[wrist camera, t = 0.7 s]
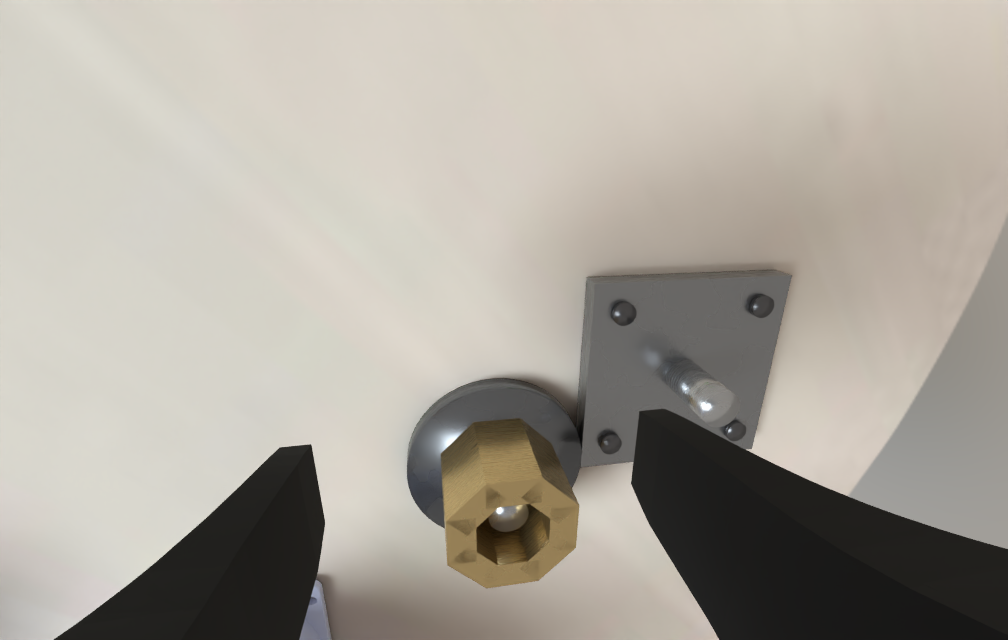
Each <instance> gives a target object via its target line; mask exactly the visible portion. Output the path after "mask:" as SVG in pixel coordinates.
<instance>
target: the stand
mask: <svg viewBox="0 0 1008 640" xmlns="http://www.w3.org/2000/svg"><path fill="white" fill-rule="evenodd" d="M515 418H521V419H522V420H523V421H525V422H526V423H527V424H528V425H530V426H531V427H532V428H533V429H534V430H536V431H537V432H538V433H539V434H541V435H542V436H543V437H544V438H546V439H547V440H548V441H549V442H551V444H552V446H553V448H554V450H555V453H556V455H557V457H558V459H559V462H560V464H561V466H562V468H563V470H564V473H565V475H566V477H567V479H568V482H569V484H570V486H571V488H572V487H573V485H574V483H575V480H576V478H577V475H578V472H579V469H580V463H581V444H580V439H579V436H578V433H577V430H576V428H575V426H574V424H573V422H572V421H571V419H570V417H569V415H568V414H567V412H566V410H565V409H564V407H563V406H562V405H561V403H560V402H559V401H558V400H557V399H556V398H555V397H553V396H552V395H551V394H549V393H548V392H547V391H545V390H543V389H542V388H540V387H538V386H536V385H533V384H530V383H528V382H524V381H519V380H514V379H488V380H481V381H477V382H473V383H470V384H467V385H464V386H462V387H459V388H457V389H455V390H453V391H451V392H450V393H448V394H446V395H445V396H443V397H442V398H441V399H439V400H438V401H437V402H436V403H434V404H433V405H432V406H431V407H430V408H429V409H428V410H427V411H426V413H425V414H424V415H423V416H422V418H421V419H420V421H419V422H418V423H417V425H416V427H415V429H414V431H413V433H412V436H411V439H410V442H409V448H408V457H407V479H408V485H409V489H410V492H411V495H412V497H413V499H414V501H415V503H416V504H417V506H418V507H419V508H420V510H421V511H422V512H423V513H424V514H425V515H426V516H427V517H428V518H429V519H431V520H432V521H433V522H435V523H436V524H438V525H440V526H441V527H443V528H445V523H444V509H443V495H442V474H441V453H442V452H443V451H444V450H445V449H446V448H447V447H448V446H449V445H450V444H451V443H452V442H453V441H454V440H455V439H456V438H457V437H459V436H460V435H461V434H462V433H463V432H464V431H465V430H466V429H467V428H468V427H469V426H470V425H471V424H472V423H473V422H481V421H492V420H504V419H515ZM528 514H529V513H528V508H527V504H524V505H516V506H507V507H499V508H497V509H496V510H495V511H494V512H493V513H492V514H491V515H490V516H489V517H488V518H489V523H490V525H491V526H492V527H493V528H494V529H496V530H498V531H502V532H509V531H513V530H516V529H518V528H520V527H521V526H522V525H523V524H524V523H525V522H526V520H527V518H528Z"/></svg>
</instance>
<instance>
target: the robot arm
mask: <svg viewBox="0 0 1008 640" xmlns="http://www.w3.org/2000/svg"><path fill="white" fill-rule="evenodd" d="M631 484H632V487H633V489H634V491H635V494H636V496H637V498H638V501H639V503H640V505H641V507H642V509H643V512H644V514H645V516H646V518H647V520H648V522H649V524H650V526H651V528H652V529H653V531H654V533H655V534H656V536H657V538H658V539H659V541H660V543H661V544H662V546H663V548H664V549H665V551H666V552H667V554H668V556H669V557H670V559H671V561H672V562H673V564H674V565H675V567H676V569H677V570H678V572H679V574H680V575H681V577H682V578H683V580H684V582H685V583H686V585H687V586H688V588H689V590H690V591H691V593H692V594H693V596H694V598H695V599H696V601H697V603H698V604H699V606H700V607H701V609H702V611H703V612H704V614H705V615H706V617H707V619H708V620H709V622H710V624H711V626H712V627H713V629H714V631H715V633H716V634H717V636H718V638H719V640H1008V549H1005V548H1001V547H998V546H994V545H990V544H987V543H983V542H980V541H976V540H973V539H969V538H966V537H963V536H960V535H956V534H953V533H950V532H947V531H943V530H940V529H937V528H934V527H931V526H928V525H925V524H922V523H919V522H916V521H913V520H910V519H907V518H904V517H901V516H898V515H895V514H892V513H890V512H887V511H884V510H881V509H879V508H876V507H873V506H871V505H868V504H865V503H863V502H860V501H858V500H855V499H853V498H850V497H848V496H845V495H843V494H840V493H838V492H835V491H833V490H830V489H828V488H826V487H823V486H821V485H819V484H816V483H814V482H812V481H809V480H807V479H805V478H803V477H801V476H799V475H796V474H794V473H792V472H790V471H788V470H786V469H784V468H781V467H779V466H777V465H775V464H773V463H771V462H769V461H767V460H765V459H763V458H761V457H759V456H757V455H755V454H753V453H751V452H749V451H747V450H745V449H743V448H741V447H739V446H737V445H735V444H734V443H732V442H730V441H728V440H726V439H724V438H722V437H720V436H718V435H716V434H715V433H713V432H711V431H709V430H707V429H705V428H703V427H701V426H699V425H697V424H696V423H694V422H692V421H690V420H688V419H686V418H684V417H682V416H680V415H678V414H676V413H673V412H671V411H669V410H666V409H654V410H645V411H639V419H638V428H637V437H636V445H635V454H634V463H633V472H632V481H631ZM324 527H325V519H324V514H323V508H322V503H321V497H320V491H319V486H318V480H317V474H316V469H315V463H314V457H313V452H312V446H311V444H310V445H301V446H291V447H281V448H279V449H278V450H277V451H276V452H275V453H274V454H272V455H271V456H270V457H269V458H268V459H267V460H266V461H265V462H264V463H263V464H262V465H261V466H260V467H259V468H258V469H257V470H256V471H255V472H254V473H253V474H252V475H251V476H250V477H249V478H248V479H247V480H246V481H245V482H244V483H243V484H242V485H241V486H240V487H239V488H238V489H237V490H236V491H234V492H233V493H232V494H231V495H230V496H229V497H228V498H227V499H226V500H225V501H224V502H223V503H222V504H221V505H220V506H219V507H218V508H217V509H216V510H215V511H213V512H212V513H211V514H210V515H209V516H208V517H207V518H206V519H205V520H204V521H203V522H201V523H200V524H199V525H198V526H197V527H196V528H195V529H193V530H192V531H191V532H190V533H189V534H188V535H187V536H185V537H184V538H183V539H182V540H181V541H180V542H179V543H177V544H176V545H175V546H174V547H173V548H172V549H171V550H170V551H168V552H167V553H166V554H165V555H164V556H163V557H162V558H160V559H159V560H158V561H157V562H156V563H155V564H153V565H152V566H151V567H150V568H148V569H147V570H146V571H145V572H144V573H142V574H141V575H140V576H139V577H137V578H136V579H135V580H134V581H132V582H131V583H130V584H129V585H127V586H126V587H125V588H123V589H122V590H121V591H120V592H118V593H117V594H116V595H114V596H113V597H112V598H110V599H109V600H108V601H106V602H105V603H104V604H102V605H101V606H100V607H98V608H97V609H96V610H95V611H93V612H92V613H91V614H89V615H88V616H87V617H85V618H84V619H82V620H81V621H80V622H78V623H77V624H76V625H74V626H73V627H71V628H70V629H68V630H67V631H66V632H64V633H63V634H61V635H60V636H58V637H57V638H55V639H54V640H332V639H331V634H330V628H329V622H328V616H327V611H326V605H325V599H324V593H323V588H322V584H321V583H320V582H319V581H318V580H316V576H317V572H318V567H319V561H320V555H321V548H322V541H323V534H324ZM311 597H314V598H311Z"/></svg>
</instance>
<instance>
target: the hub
mask: <svg viewBox="0 0 1008 640" xmlns="http://www.w3.org/2000/svg"><path fill="white" fill-rule="evenodd" d="M791 277H792V275H789V274H786V273H783V272H781V271H778V270H758V271H732V272H707V273H682V274H656V275H631V276H606V277H587V281H586V295H585V309H584V323H583V337H582V350H581V364H580V378H579V392H578V406H577V419H576V430H577V433H578V436H579V439H580V444H581V463H580V467H589V466H598V465H607V464H617V463H626V462H634V454H635V445H636V437H637V428H638V419H639V411H645V410H654V409H666V410H669V411H671V412H673V413H676V414H678V415H680V416H682V417H684V418H686V419H688V420H690V421H692V422H694V423H696V424H697V425H699V426H701V427H703V428H705V429H707V430H709V431H711V432H713V433H715V434H716V435H718V436H720V437H722V438H724V439H726V440H728V441H730V442H732V443H734V444H735V445H737V446H739V447H741V448H743V449H745V450H746V449H752V446H753V442H754V437H755V433H756V429H757V424H758V420H759V416H760V411H761V407H762V403H763V398H764V394H765V390H766V385H767V381H768V377H769V372H770V368H771V364H772V359H773V355H774V351H775V346H776V342H777V338H778V333H779V329H780V325H781V320H782V316H783V312H784V307H785V303H786V299H787V294H788V290H789V286H790V281H791Z"/></svg>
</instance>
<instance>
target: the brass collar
mask: <svg viewBox="0 0 1008 640" xmlns="http://www.w3.org/2000/svg"><path fill="white" fill-rule="evenodd" d="M441 474H442V495H443V509H444V523H445V537H446V551H447V565H448V566H450V567H451V568H453V569H455V570H456V571H458V572H460V573H461V574H463V575H465V576H467V577H468V578H470V579H472V580H473V581H475V582H477V583H478V584H480V585H482V586H483V587H485V588H492V587H499V586H506V585H513V584H519V583H526V582H533V581H538V580H540V579H541V578H542V577H543V576H544V575H545V574H546V573H548V572H549V571H550V570H551V569H552V568H553V567H554V566H556V565H557V564H558V563H559V562H560V561H561V560H562V559H563V558H565V557H566V556H567V555H568V554H569V553H570V552H571V551H573V550H574V549H575V548H576V539H577V526H578V514H579V504H578V502H577V499H576V497H575V495H574V493H573V491H572V488H571V486H570V484H569V482H568V479H567V477H566V475H565V473H564V470H563V468H562V466H561V464H560V462H559V459H558V457H557V455H556V453H555V450H554V448H553V446H552V444H551V442H549V441H548V440H547V439H546V438H544V437H543V436H542V435H541V434H539V433H538V432H537V431H536V430H534V429H533V428H532V427H531V426H530V425H528V424H527V423H526V422H525V421H523V420H522V419H521V418H515V419H504V420H492V421H481V422H473V423H472V424H471V425H470V426H469V427H468V428H467V429H466V430H465V431H464V432H463V433H462V434H461V435H460V436H459V437H457V438H456V439H455V440H454V441H453V442H452V443H451V444H450V445H449V446H448V447H447V448H446V449H445V450H444V451H443V452H442V453H441ZM524 504H527V508H528V513H529V514H528V518H527V520H526V522H525V523H524V524H523V525H522V526H521V527H520V528H518V529H516V530H513V531H509V532H502V531H498V530H496V529H494V528H493V527H492V526H491V525H490V523H489V518H488V517H489V516H490V515H491V514H492V513H493V512H494V511H495V510H496V509H497V508H499V507H507V506H516V505H524Z"/></svg>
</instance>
